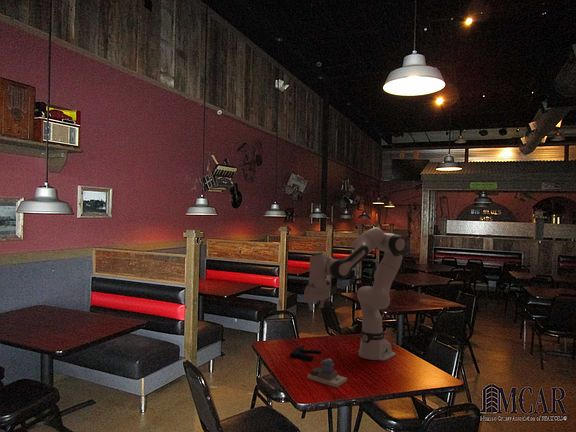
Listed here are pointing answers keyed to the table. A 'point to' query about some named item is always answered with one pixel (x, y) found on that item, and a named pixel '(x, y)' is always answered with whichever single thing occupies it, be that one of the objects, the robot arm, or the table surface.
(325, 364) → the block
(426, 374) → the table surface
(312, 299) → the robot arm
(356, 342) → the table surface
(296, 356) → the gun
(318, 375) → the chassis
